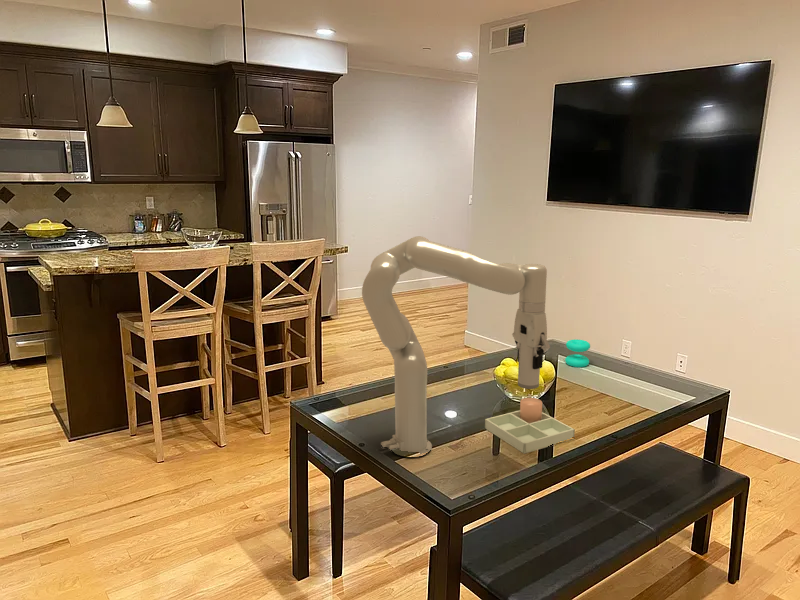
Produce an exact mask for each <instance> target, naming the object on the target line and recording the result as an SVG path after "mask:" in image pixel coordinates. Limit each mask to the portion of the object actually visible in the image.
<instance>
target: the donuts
mask: <svg viewBox="0 0 800 600" xmlns="http://www.w3.org/2000/svg"><path fill="white" fill-rule="evenodd" d="M565 346H566V348H567V349H568V350H569V351H571V352H574V354H569V355H567V356H566V357H565V358H564V361H565V363H566V365H568V366H570V367H574V368H583V367H587V366H588V365H589V364H590V359H589V358H588V357H587V356H585V355H583V354H578V353H580V352H581V353H584V352H586V351H589V350H590V348H591V344H590V342H589V341H587V340H584V339H576V338H575V339H569V340H567V342H566V343H565ZM575 352H576V353H575Z"/></svg>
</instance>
